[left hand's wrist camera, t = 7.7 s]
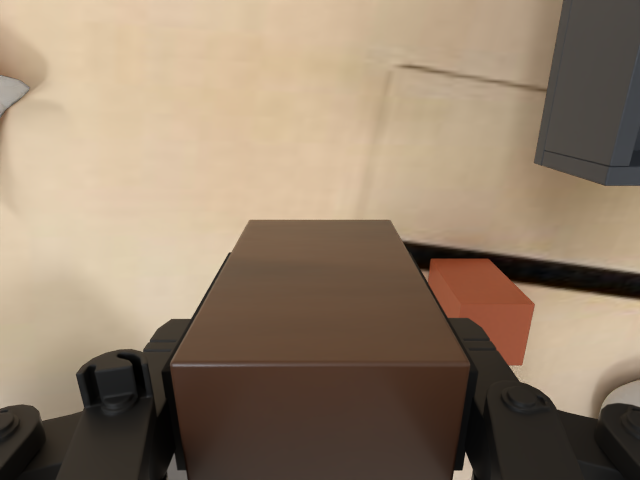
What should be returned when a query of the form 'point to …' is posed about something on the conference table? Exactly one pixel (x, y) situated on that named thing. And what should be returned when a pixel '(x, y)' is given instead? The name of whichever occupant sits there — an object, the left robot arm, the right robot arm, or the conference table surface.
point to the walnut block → (319, 361)
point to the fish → (10, 92)
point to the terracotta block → (484, 302)
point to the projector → (624, 395)
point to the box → (594, 94)
